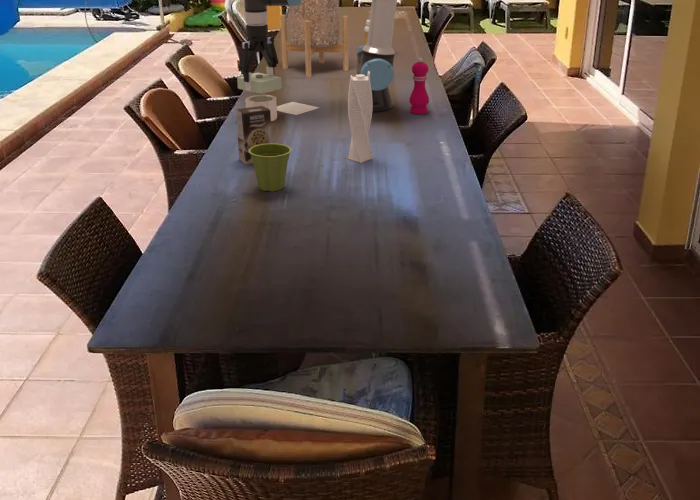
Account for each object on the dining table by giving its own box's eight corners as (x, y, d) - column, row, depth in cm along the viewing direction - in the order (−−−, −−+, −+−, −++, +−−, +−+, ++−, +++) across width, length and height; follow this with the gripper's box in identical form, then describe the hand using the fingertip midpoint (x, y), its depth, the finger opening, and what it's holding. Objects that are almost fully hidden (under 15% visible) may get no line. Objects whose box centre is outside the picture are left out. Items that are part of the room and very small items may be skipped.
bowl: (283, 118, 287) (282, 98, 283) (261, 125, 279) (260, 104, 276) (262, 113, 293) (261, 93, 290) (240, 119, 285) (239, 99, 282)
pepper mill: (427, 115, 289) (429, 60, 281) (407, 114, 291) (409, 59, 282) (429, 109, 296) (431, 56, 287) (410, 108, 297) (411, 55, 288)
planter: (350, 70, 356) (348, -4, 342) (307, 78, 345) (304, 1, 330) (323, 62, 373) (320, -10, 359) (281, 69, 361) (277, -5, 347)
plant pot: (276, 198, 216) (274, 159, 211) (242, 190, 222) (239, 151, 217) (301, 185, 225) (299, 147, 220) (268, 177, 231) (266, 140, 226)
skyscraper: (379, 159, 245) (380, 69, 233) (362, 166, 240) (362, 74, 228) (359, 153, 251) (359, 65, 239) (342, 160, 245) (341, 70, 233)
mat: (319, 108, 298) (319, 107, 298) (296, 116, 289) (296, 115, 289) (292, 102, 306) (292, 101, 306) (269, 109, 297) (268, 108, 297)
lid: (281, 88, 281) (281, 75, 279) (261, 93, 274) (260, 80, 272) (258, 83, 288) (257, 70, 286) (237, 88, 281) (237, 75, 279)
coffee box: (245, 165, 241) (242, 113, 234) (238, 159, 246) (234, 108, 239) (273, 160, 245) (270, 109, 238) (265, 154, 250) (262, 104, 243)
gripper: (272, 18, 282) (274, 80, 291) (224, 27, 266) (229, 92, 275) (287, 20, 277) (289, 83, 287) (239, 29, 262) (243, 95, 271)
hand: (259, 87), depth 281 cm, fingers closed on lid, 10 cm apart
